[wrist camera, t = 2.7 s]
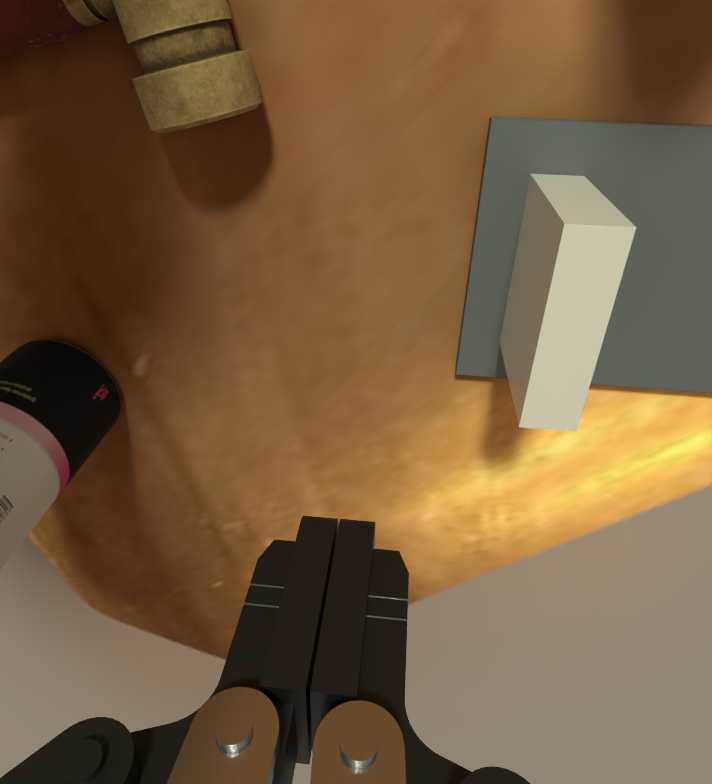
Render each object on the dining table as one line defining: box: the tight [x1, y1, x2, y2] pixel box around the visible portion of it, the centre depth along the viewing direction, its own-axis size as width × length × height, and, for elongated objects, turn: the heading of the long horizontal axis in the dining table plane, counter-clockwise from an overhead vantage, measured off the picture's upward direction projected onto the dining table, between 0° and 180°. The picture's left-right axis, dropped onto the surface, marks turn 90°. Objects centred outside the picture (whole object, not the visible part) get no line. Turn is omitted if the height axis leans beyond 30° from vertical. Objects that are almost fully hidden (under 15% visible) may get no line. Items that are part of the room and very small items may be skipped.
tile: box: [500, 174, 636, 432], centre depth 23 cm, size 2×8×7 cm, turn 179°
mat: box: [456, 117, 712, 393], centre depth 26 cm, size 14×12×1 cm
